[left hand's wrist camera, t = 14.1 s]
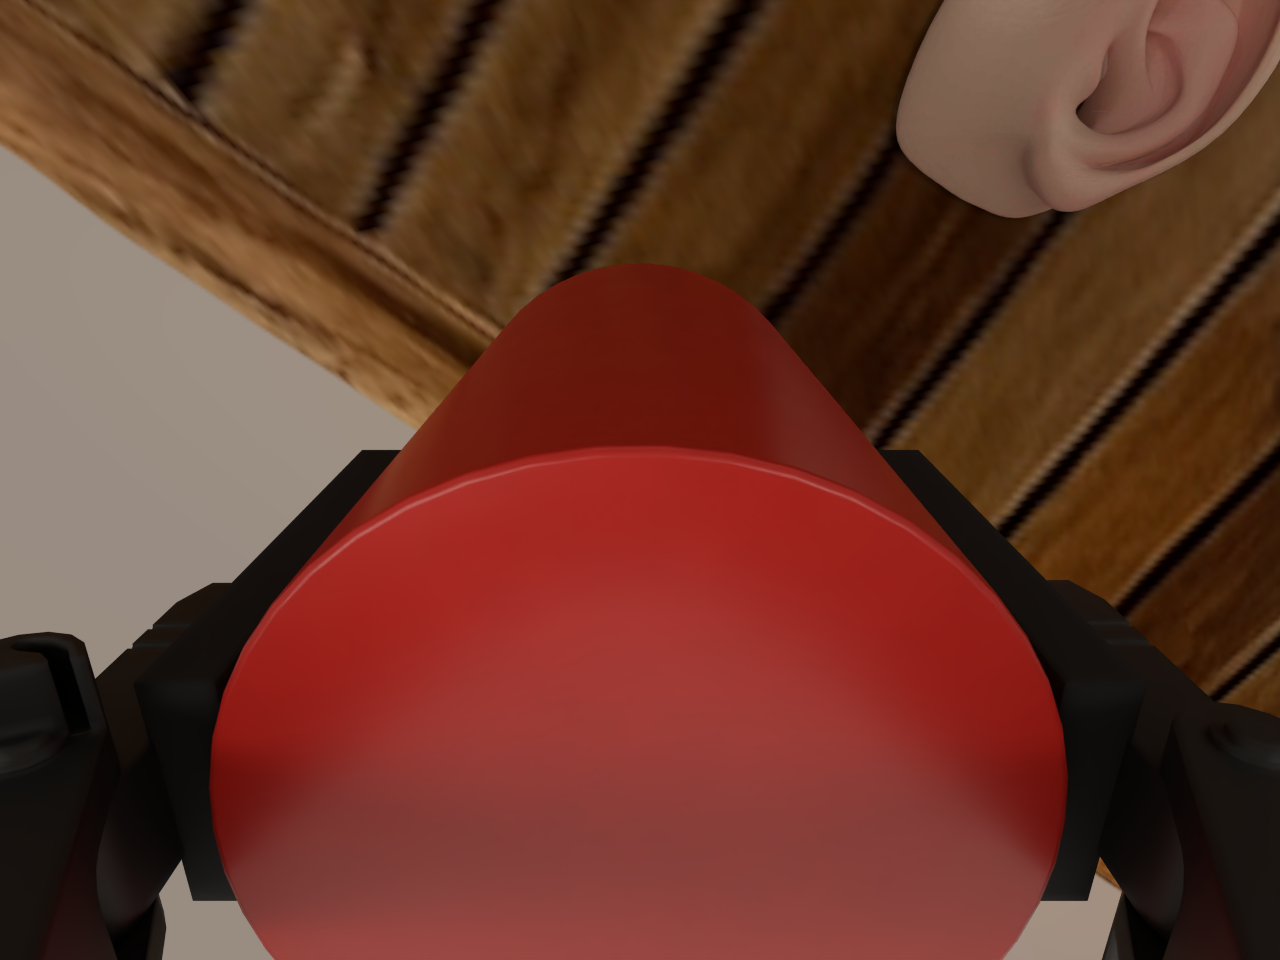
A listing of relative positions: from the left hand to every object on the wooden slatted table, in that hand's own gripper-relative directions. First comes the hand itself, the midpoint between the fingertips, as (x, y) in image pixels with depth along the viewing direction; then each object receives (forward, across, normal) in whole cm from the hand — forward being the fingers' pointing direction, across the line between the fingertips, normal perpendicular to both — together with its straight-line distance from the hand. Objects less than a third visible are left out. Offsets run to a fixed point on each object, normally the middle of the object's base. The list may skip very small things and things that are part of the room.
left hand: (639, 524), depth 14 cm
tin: (+5, 0, 0) cm, 5 cm away
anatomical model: (+24, +18, +9) cm, 31 cm away
